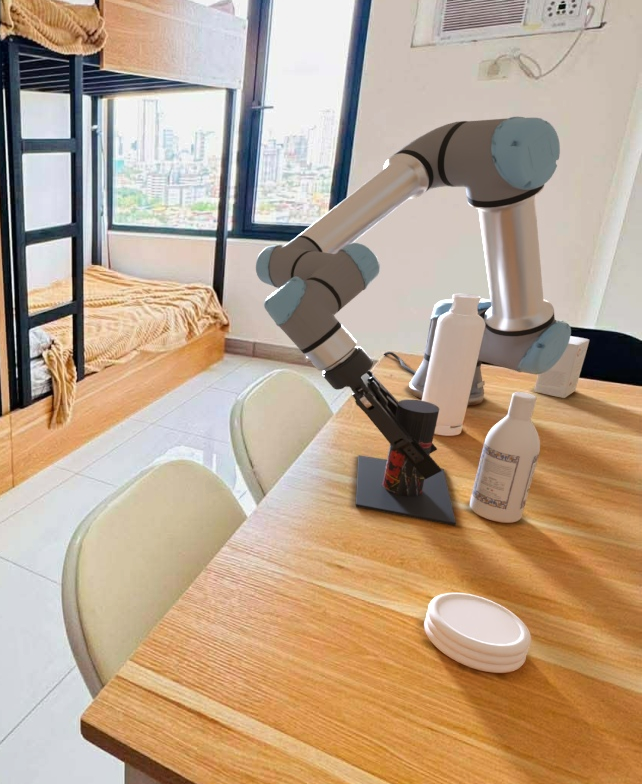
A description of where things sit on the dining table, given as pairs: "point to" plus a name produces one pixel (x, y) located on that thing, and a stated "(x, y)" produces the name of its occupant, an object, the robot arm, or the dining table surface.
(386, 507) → the mat
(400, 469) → the deodorant
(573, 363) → the small box
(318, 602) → the dining table surface
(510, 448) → the bath foam
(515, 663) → the coaster
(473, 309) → the bottle
